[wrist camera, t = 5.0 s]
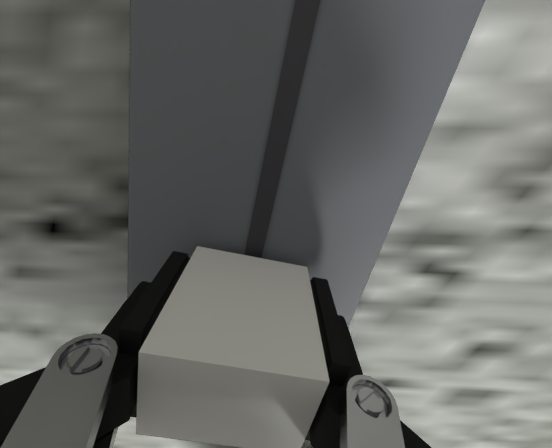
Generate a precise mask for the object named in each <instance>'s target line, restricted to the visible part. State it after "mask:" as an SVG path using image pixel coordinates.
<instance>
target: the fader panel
mask: <svg viewBox="0 0 552 448" xmlns="http://www.w3.org/2000/svg"><path fill="white" fill-rule="evenodd" d="M484 2H485V0H130V92H129V202H128V297H129V296H130V295H131V294H132V292H133V291H134V290H135V288H136V287H137V286H138V284H139V283H140V282H142V281H146V282H152V281H153V279H154V278H155V276H156V275H157V273H158V272H159V271H160V269H161V268H162V266H163V265H164V263H165V262H166V260H167V259H168V258H169V256H170V255H171V253H172V252H173V251H176V252H182V253H187V254H189V258H191V256H192V255H193V253H194V251H195V249H196V247H197V246H200V247H205V248H210V249H216V250H221V251H226V252H231V253H237V254H242V255H247V256H253V257H258V258H263V259H268V260H274V261H279V262H284V263H289V264H295V265H300V266H305V267H307V268H308V273H309V278H310V280H311V279H312V278H313V277H317V278H322V279H327V280H328V283H329V287H330V290H331V294H332V297H333V300H334V304H335V307H336V311H337V314H338V315H341V316H343V317H344V318H345V320H346V323H347V326H349V324H350V322H351V319H352V317H353V314H354V312H355V310H356V307H357V305H358V303H359V300H360V298H361V295H362V293H363V291H364V288H365V286H366V283H367V281H368V279H369V276H370V274H371V272H372V269H373V267H374V264H375V262H376V260H377V257H378V255H379V252H380V250H381V248H382V245H383V243H384V240H385V238H386V236H387V233H388V231H389V229H390V226H391V224H392V221H393V219H394V217H395V214H396V212H397V209H398V207H399V205H400V202H401V200H402V198H403V195H404V193H405V190H406V188H407V186H408V183H409V181H410V178H411V176H412V174H413V171H414V169H415V167H416V164H417V162H418V159H419V157H420V155H421V152H422V150H423V147H424V145H425V143H426V140H427V138H428V135H429V133H430V131H431V128H432V126H433V124H434V121H435V119H436V116H437V114H438V112H439V109H440V107H441V104H442V102H443V100H444V97H445V95H446V93H447V90H448V88H449V85H450V83H451V81H452V78H453V76H454V73H455V71H456V69H457V66H458V64H459V62H460V59H461V57H462V54H463V52H464V50H465V47H466V45H467V42H468V40H469V38H470V35H471V33H472V30H473V28H474V26H475V23H476V21H477V19H478V16H479V14H480V11H481V9H482V7H483V4H484Z"/></svg>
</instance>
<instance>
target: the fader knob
mask: <svg viewBox="0 0 552 448" xmlns="http://www.w3.org/2000/svg"><path fill="white" fill-rule="evenodd" d="M329 382H330V381H329V376H328V371H327V366H326V361H325V355H324V350H323V345H322V340H321V335H320V330H319V325H318V319H317V314H316V309H315V304H314V299H313V294H312V288H311V283H310V278H309V273H308V268H307V267H305V266H300V265H295V264H289V263H284V262H279V261H274V260H268V259H263V258H258V257H253V256H247V255H242V254H237V253H231V252H226V251H221V250H216V249H210V248H205V247H200V246H197V247H196V249H195V251H194V253H193V255H192V256H191V258H190V260H189V262H188V264H187V266H186V267H185V269H184V271H183V273H182V275H181V276H180V278H179V280H178V282H177V284H176V285H175V287H174V289H173V291H172V293H171V294H170V296H169V298H168V300H167V302H166V304H165V305H164V307H163V309H162V311H161V313H160V314H159V316H158V318H157V320H156V322H155V323H154V325H153V327H152V329H151V331H150V332H149V334H148V336H147V338H146V340H145V342H144V343H143V345H142V347H141V349H140V351H139V355H138V386H137V418H136V434H140V435H147V436H155V437H163V438H171V439H178V440H186V441H194V442H202V443H209V444H217V445H225V446H233V447H240V448H301V447H302V445H303V443H304V440H305V438H306V436H307V433H308V431H309V429H310V426H311V424H312V422H313V419H314V417H315V415H316V412H317V410H318V408H319V405H320V403H321V400H322V398H323V396H324V393H325V391H326V389H327V386H328V384H329Z"/></svg>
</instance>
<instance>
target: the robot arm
mask: <svg viewBox="0 0 552 448" xmlns="http://www.w3.org/2000/svg"><path fill="white" fill-rule="evenodd" d="M189 260H190V258H189V254H187V253H182V252H176V251H173V252H172V253H171V255H170V256H169V258H168V259H167V260H166V262H165V263H164V265H163V266H162V268H161V269H160V271H159V272H158V273H157V275H156V276H155V278H154V279H153V281H152V282H146V281H142V282H140V283H139V284H138V286H137V287H136V288H135V290H134V291H133V292H132V294H131V295H130V296H129V297H128V299H127V300H126V301H125V303H124V304H123V305H122V307H121V308H120V309H119V311H118V312H117V313H116V315H115V316H114V317H113V319H112V320H111V321H110V322H109V324H108V325H107V326H106V328H105V329H104V330H103V332H102V333H101V334H96V333H95V334H86V335H83V336H79V337H76V338H74V339H72V340H70V341H68V342H66V343H65V344H64V345H62V346H61V347H60V348H59V349H58V350H57V351H56V352H55V354H54V355H53V356H52V358H51V360H50V361H49V363H48V365H47V367H46V368H43V369H41V370H38V371H36V372H33V373H30V374H28V375H25V376H23V377H20V378H18V379H15V380H13V381H10V382H8V383H5V384H3V385H0V448H113V445H114V441H115V437H116V434H117V430H118V427H119V426H120V425H122V424H124V423H125V422H127V421H129V419H130V417H137V386H138V355H139V351H140V349H141V347H142V345H143V343H144V342H145V340H146V338H147V336H148V334H149V332H150V331H151V329H152V327H153V325H154V323H155V322H156V320H157V318H158V316H159V314H160V313H161V311H162V309H163V307H164V305H165V304H166V302H167V300H168V298H169V296H170V294H171V293H172V291H173V289H174V287H175V285H176V284H177V282H178V280H179V278H180V276H181V275H182V273H183V271H184V269H185V267H186V266H187V264H188V262H189ZM310 283H311V288H312V294H313V299H314V304H315V309H316V314H317V319H318V325H319V330H320V335H321V340H322V345H323V350H324V355H325V361H326V366H327V371H328V376H329V381H330V382H329V384H328V386H327V389H326V391H325V393H324V396H323V398H322V400H321V403H320V405H319V408H318V410H317V412H316V415H315V417H314V419H313V422H312V424H311V426H310V429H309V431H308V433H307V436H306V438H305V440H310V442H311V445H312V446H313V447H314V448H431V447H430V446H429V445H428V444H427V443H426V442H424V441H423V440H422V439H421V438H420V437H419V436H418V435H416V434H415V433H414V432H413V431H412V430H411V429H410V428H408V427H407V426H406V425H405V424H404V423H403V422H402V421H400V418H399V413H398V407H397V404H396V401H395V399H394V397H393V396H392V394H391V392H390V391H389V390H388V389H387V388H386V387H385V386H384V385H383V384H382V383H380V382H379V381H378V380H376V379H374V378H372V377H370V376H366V375H363V373H362V370H361V367H360V364H359V361H358V358H357V354H356V351H355V348H354V345H353V342H352V339H351V336H350V333H349V330H348V326H347V323H346V320H345V318H344V317H343V316H341V315H338V314H337V311H336V307H335V304H334V300H333V297H332V294H331V290H330V287H329V283H328V280H327V279H322V278H317V277H313V278H312V279H311V280H310Z"/></svg>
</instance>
